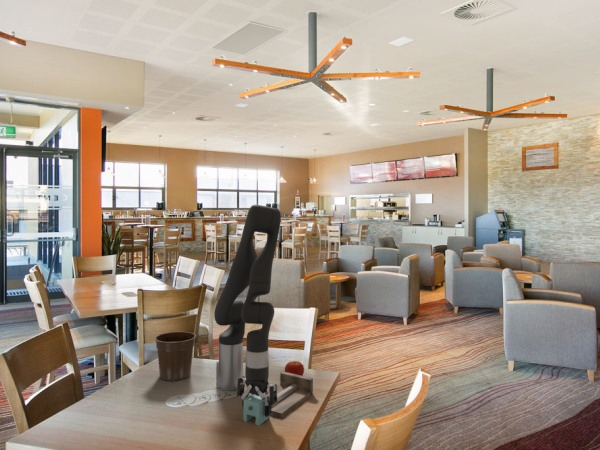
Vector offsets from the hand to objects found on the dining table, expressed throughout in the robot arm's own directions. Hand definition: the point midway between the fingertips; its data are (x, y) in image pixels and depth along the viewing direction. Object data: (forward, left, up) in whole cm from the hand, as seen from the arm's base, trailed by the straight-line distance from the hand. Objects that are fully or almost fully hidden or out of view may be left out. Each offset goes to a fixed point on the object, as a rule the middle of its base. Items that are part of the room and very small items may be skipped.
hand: (256, 412), depth 143 cm
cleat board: (0, +16, -2) cm, 16 cm away
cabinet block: (0, 0, -2) cm, 2 cm away
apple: (-6, +35, -2) cm, 36 cm away
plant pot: (-50, +14, -2) cm, 52 cm away
